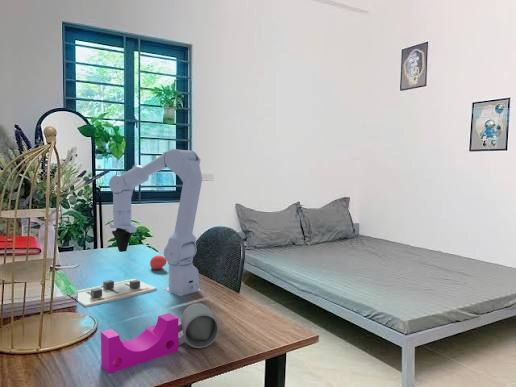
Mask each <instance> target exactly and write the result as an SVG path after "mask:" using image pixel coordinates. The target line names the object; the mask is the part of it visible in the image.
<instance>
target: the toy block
mask: <svg viewBox="0 0 516 387" xmlns="http://www.w3.org/2000/svg"><path fill="white" fill-rule="evenodd" d="M178 325H179V317H178V316H176V315H174V314H172V313H171V312H167V313H164V314H161V315H158V316H157V321H156V323H155V324H154V325H152V326H151V325H150V326H149V327H148V326H146V328H145V329H144V331H143V332H141V333H140V334H139V335H138V336H136V337H134V338H132V339H129V340H128V339H127V340H121V337H120V334H118V333H117V332H116V331H115V330H113V329H112V328H110V329H107V330H103V331H100V363H101V365H100V366H101V367H102V368H103V369H104V370H105V371H106V372H107V374H112V373H116V372H118V371H121V370H125V369H128V368H130V367H134V366H136V365H139V364H142V363H145V362H149V361H152V360H154V359H159V358H161V357H163V356H166V355H169V354H172V353H177V352H178V351H179V345H178V338H179V333H178Z"/></svg>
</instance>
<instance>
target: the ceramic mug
mask: <svg viewBox="0 0 516 387" xmlns="http://www.w3.org/2000/svg"><path fill="white" fill-rule="evenodd" d="M180 320H181V321H180V322H181V323H180V324H178V334H179V333H180V332H182V333H183V335H182V336H180V337H179V336H178V346H180V345H183V344H185V343H186V344H187V345H188V346H190V347H192V348H195V349H203V348H204V349H205V348H206V347H209V346H210V345H212V344H213V343H214V342H215V341H216V339H217V337H218V335H219V331H220V328H219V326H220V325H219V322H218V319H217V318H216V317H215V314H214V313H213V312H212V310H211V308H209V306H207V305H206V304H204V303H201V302H200V303H198V302H197V303H192V304H189V305H188V306H187V307H186V308H185V309H184V310H183V312H182V314H181V318H180Z"/></svg>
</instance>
